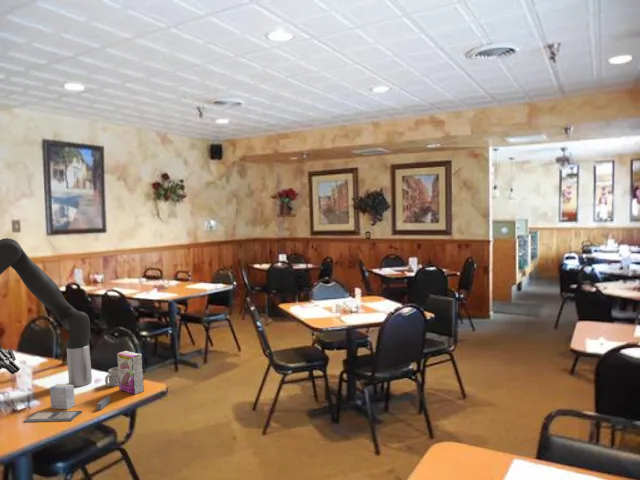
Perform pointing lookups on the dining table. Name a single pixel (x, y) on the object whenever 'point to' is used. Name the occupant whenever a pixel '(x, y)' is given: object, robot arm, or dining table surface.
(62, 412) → the plate
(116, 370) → the mug
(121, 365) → the candy bar box
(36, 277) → the robot arm
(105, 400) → the rubber stop
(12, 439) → the dining table surface
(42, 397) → the dining table surface
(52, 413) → the plate
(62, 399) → the grey upright block
